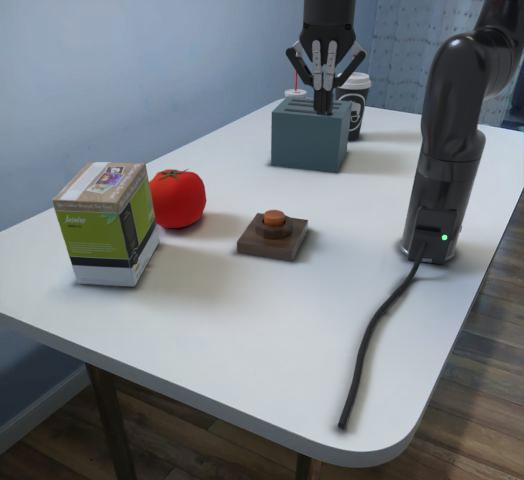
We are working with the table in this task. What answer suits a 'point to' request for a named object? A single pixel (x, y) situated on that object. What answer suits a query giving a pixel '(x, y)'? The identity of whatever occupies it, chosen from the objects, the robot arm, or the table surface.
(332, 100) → the slider
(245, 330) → the table surface
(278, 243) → the block
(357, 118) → the coffee cup
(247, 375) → the table surface
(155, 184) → the tomato
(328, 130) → the toaster
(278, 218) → the button
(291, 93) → the beverage cup
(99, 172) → the tea box
